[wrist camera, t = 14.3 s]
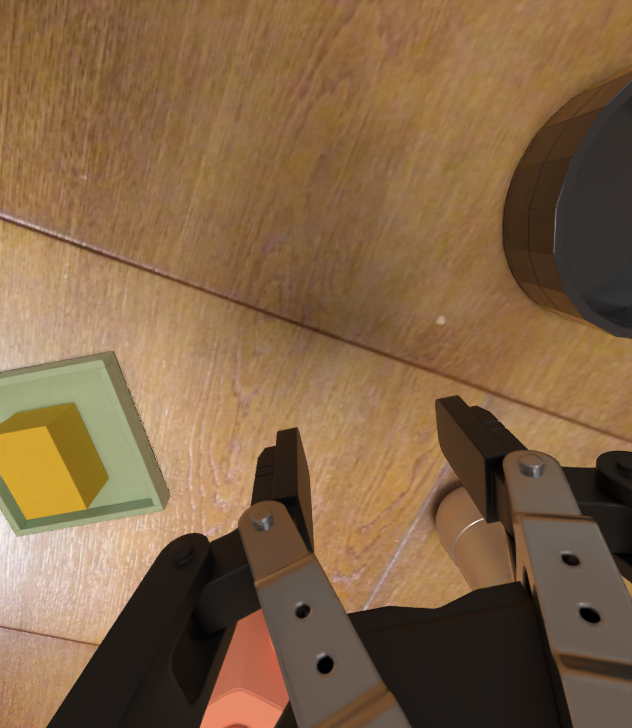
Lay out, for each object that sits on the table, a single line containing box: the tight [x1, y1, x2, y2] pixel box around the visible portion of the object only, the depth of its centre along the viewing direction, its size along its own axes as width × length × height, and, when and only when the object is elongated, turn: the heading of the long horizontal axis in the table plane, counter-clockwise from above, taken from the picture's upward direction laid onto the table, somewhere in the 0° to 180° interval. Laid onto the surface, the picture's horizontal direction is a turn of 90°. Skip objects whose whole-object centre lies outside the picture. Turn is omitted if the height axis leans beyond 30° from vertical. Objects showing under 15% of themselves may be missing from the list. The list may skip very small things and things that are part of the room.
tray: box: [0, 352, 170, 537], centre depth 29 cm, size 13×12×2 cm
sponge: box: [0, 402, 109, 520], centre depth 28 cm, size 7×4×4 cm, turn 10°
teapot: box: [200, 609, 289, 728], centre depth 33 cm, size 14×12×10 cm
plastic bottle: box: [436, 486, 512, 591], centre depth 25 cm, size 6×7×20 cm
